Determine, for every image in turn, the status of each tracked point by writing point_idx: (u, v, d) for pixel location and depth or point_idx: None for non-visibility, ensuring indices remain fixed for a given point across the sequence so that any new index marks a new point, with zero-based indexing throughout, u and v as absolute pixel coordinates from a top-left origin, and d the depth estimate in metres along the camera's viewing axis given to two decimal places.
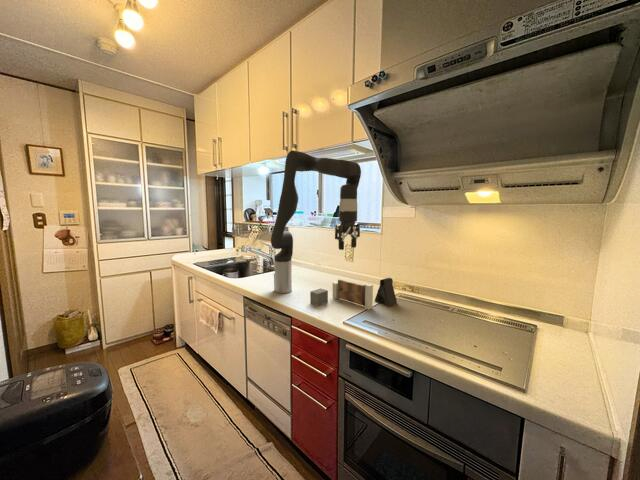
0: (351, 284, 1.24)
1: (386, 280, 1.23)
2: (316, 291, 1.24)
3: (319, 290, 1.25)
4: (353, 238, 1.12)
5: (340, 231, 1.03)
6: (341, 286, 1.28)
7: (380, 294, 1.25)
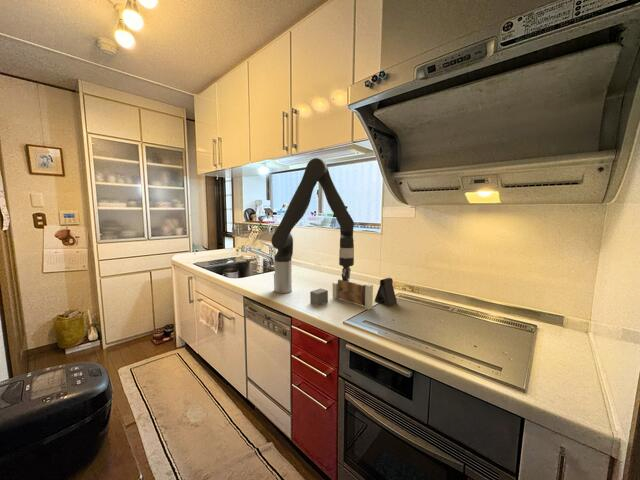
0: (351, 284, 1.24)
1: (386, 280, 1.23)
2: (316, 291, 1.24)
3: (319, 290, 1.25)
4: None
5: (346, 277, 1.29)
6: (341, 286, 1.28)
7: (380, 294, 1.25)
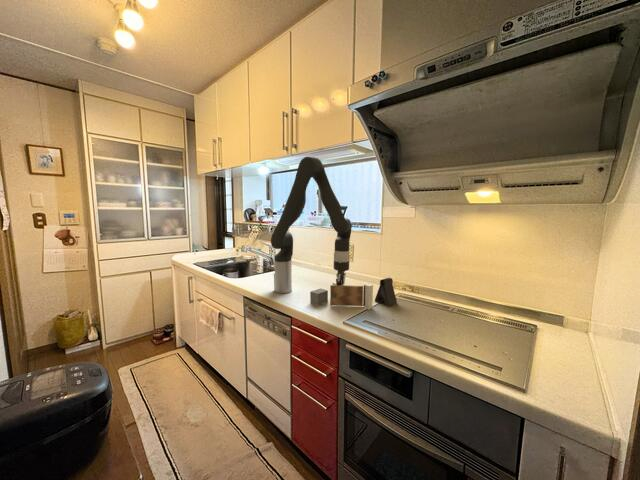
0: (349, 287, 1.19)
1: (386, 280, 1.23)
2: (316, 291, 1.24)
3: (319, 290, 1.25)
4: None
5: (341, 283, 1.20)
6: (335, 292, 1.19)
7: (380, 294, 1.25)
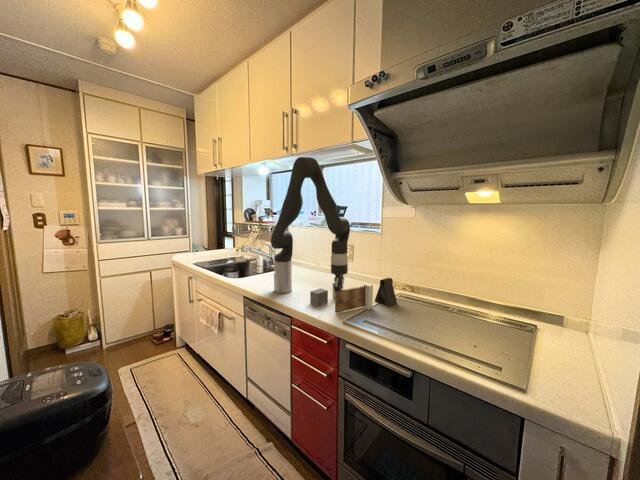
0: (352, 290, 1.15)
1: (386, 280, 1.23)
2: (316, 291, 1.24)
3: (319, 290, 1.25)
4: None
5: (339, 287, 1.12)
6: (341, 297, 1.12)
7: (380, 294, 1.25)
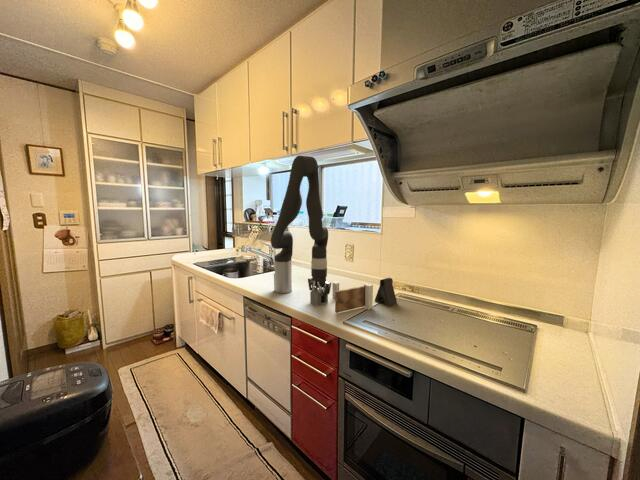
0: (352, 290, 1.15)
1: (386, 280, 1.23)
2: (316, 291, 1.24)
3: (319, 290, 1.25)
4: None
5: None
6: (341, 297, 1.12)
7: (380, 294, 1.25)
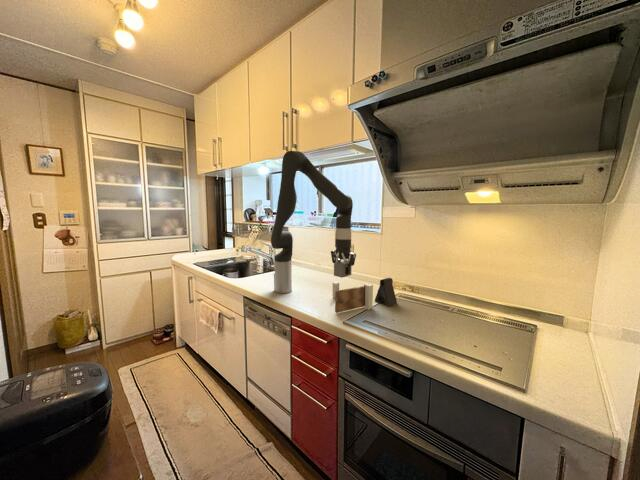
0: (352, 290, 1.15)
1: (386, 280, 1.23)
2: (340, 263, 1.21)
3: (342, 262, 1.22)
4: None
5: None
6: (341, 297, 1.12)
7: (380, 294, 1.25)
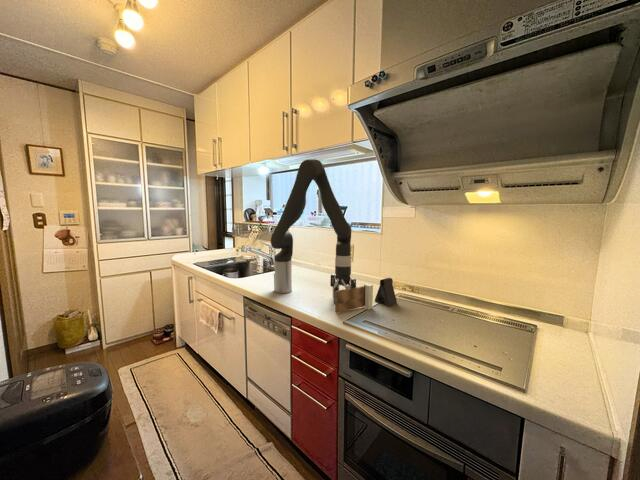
0: (352, 290, 1.15)
1: (386, 280, 1.23)
2: None
3: None
4: (336, 288, 1.26)
5: None
6: (341, 297, 1.12)
7: (380, 294, 1.25)
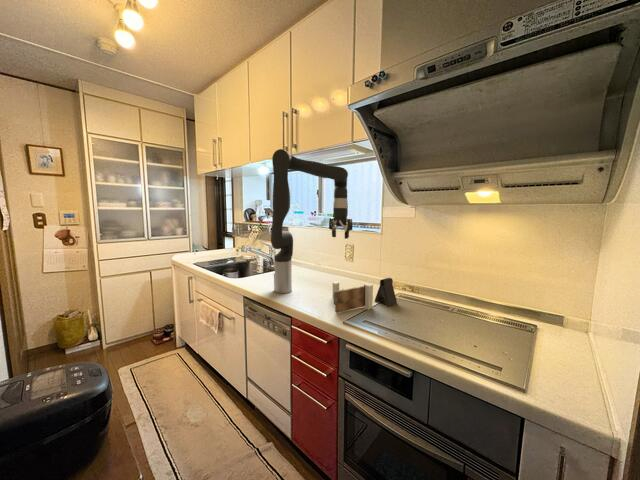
0: (352, 290, 1.15)
1: (386, 280, 1.23)
2: None
3: None
4: (334, 230, 1.40)
5: None
6: (341, 297, 1.12)
7: (380, 294, 1.25)
